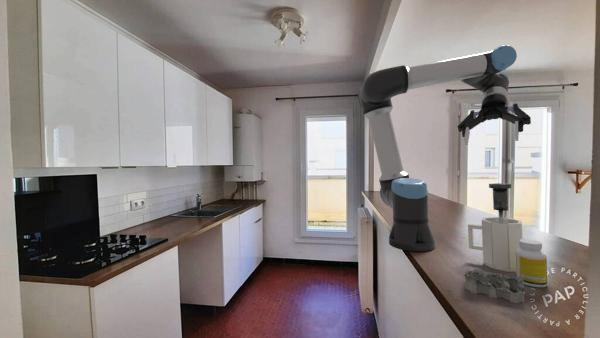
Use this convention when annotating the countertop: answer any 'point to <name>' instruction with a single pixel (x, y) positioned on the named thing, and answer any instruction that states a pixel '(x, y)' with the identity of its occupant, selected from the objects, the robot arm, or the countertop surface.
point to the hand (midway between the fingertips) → (489, 140)
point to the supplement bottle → (531, 263)
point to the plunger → (500, 198)
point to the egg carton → (483, 284)
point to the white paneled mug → (498, 242)
